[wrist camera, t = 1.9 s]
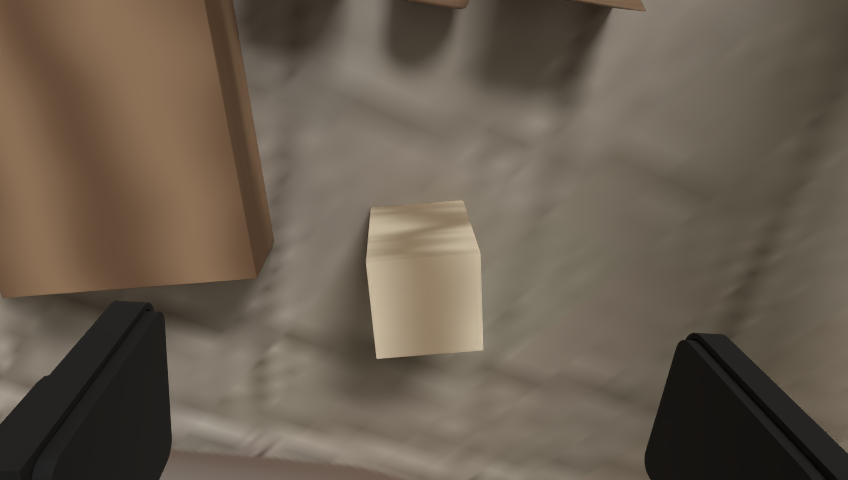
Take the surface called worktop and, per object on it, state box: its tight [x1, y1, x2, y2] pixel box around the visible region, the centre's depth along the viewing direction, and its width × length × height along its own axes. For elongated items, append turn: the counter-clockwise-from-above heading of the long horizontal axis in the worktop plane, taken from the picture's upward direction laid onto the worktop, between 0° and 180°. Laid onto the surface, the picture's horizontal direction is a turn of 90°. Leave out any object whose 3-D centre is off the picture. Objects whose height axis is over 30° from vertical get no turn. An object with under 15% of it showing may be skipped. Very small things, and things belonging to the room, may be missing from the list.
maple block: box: [366, 201, 483, 359], centre depth 31 cm, size 5×5×7 cm
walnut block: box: [0, 0, 274, 298], centre depth 28 cm, size 12×16×5 cm
